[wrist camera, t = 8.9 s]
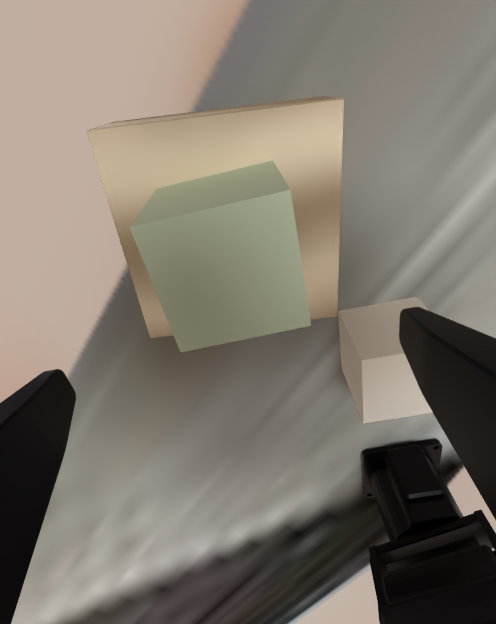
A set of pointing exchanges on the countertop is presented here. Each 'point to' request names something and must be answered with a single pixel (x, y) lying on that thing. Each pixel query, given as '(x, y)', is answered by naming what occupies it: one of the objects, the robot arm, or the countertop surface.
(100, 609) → the countertop surface
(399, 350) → the white cube
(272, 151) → the birch block
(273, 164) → the sage cube
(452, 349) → the robot arm
